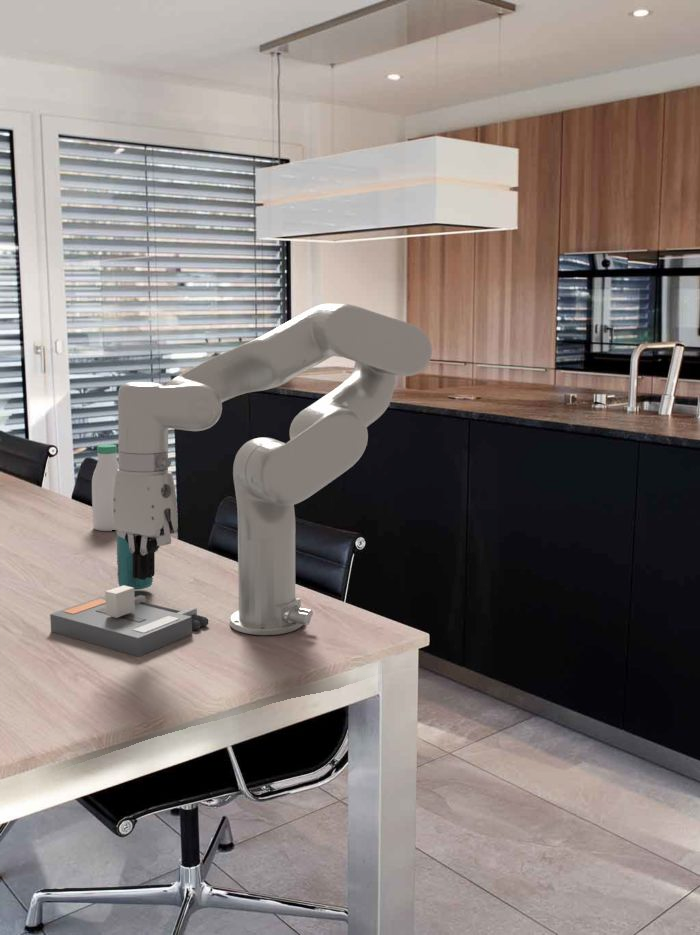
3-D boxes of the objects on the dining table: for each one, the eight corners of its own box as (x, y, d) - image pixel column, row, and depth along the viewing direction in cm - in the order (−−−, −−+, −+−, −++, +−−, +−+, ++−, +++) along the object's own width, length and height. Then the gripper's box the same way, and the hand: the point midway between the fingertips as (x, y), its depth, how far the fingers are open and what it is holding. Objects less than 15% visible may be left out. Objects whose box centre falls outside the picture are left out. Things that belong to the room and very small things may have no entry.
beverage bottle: (145, 599, 173) (141, 491, 170) (111, 596, 175) (107, 490, 171) (159, 588, 180) (156, 484, 176) (126, 586, 181) (122, 483, 178)
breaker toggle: (134, 611, 156) (134, 587, 155) (116, 617, 153) (115, 593, 152) (124, 608, 157) (123, 585, 157) (106, 615, 154) (105, 591, 153)
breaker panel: (192, 634, 155) (191, 616, 155) (138, 656, 145) (138, 637, 145) (106, 612, 166) (105, 595, 165) (51, 631, 156) (50, 613, 156)
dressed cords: (211, 625, 160) (211, 611, 159) (195, 632, 156) (195, 618, 156) (128, 604, 170) (127, 591, 170) (111, 610, 167) (110, 597, 166)
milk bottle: (122, 532, 223) (119, 448, 220) (89, 531, 223) (85, 447, 220) (130, 524, 231) (127, 443, 227) (98, 524, 231) (95, 442, 227)
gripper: (196, 465, 146) (195, 580, 149) (126, 454, 154) (127, 564, 157) (161, 471, 140) (161, 591, 143) (91, 459, 148) (92, 573, 151)
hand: (143, 576), depth 150 cm, fingers closed
